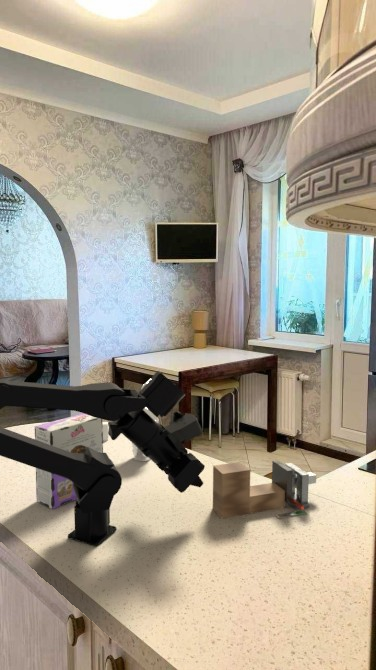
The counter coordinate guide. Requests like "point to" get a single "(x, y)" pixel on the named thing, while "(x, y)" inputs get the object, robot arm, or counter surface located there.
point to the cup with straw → (136, 451)
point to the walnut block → (242, 492)
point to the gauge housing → (298, 491)
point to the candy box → (69, 437)
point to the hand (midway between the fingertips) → (201, 484)
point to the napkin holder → (105, 431)
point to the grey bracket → (288, 480)
